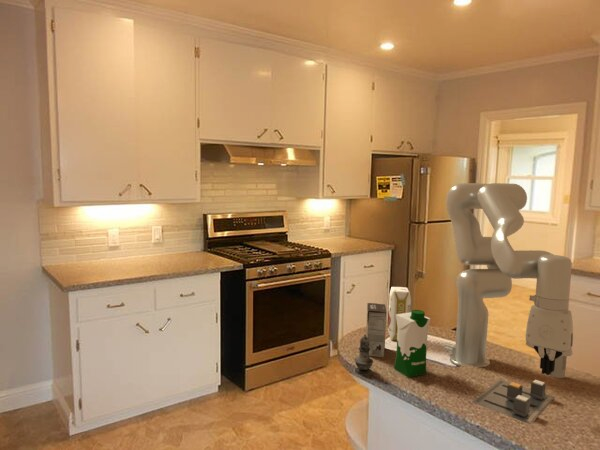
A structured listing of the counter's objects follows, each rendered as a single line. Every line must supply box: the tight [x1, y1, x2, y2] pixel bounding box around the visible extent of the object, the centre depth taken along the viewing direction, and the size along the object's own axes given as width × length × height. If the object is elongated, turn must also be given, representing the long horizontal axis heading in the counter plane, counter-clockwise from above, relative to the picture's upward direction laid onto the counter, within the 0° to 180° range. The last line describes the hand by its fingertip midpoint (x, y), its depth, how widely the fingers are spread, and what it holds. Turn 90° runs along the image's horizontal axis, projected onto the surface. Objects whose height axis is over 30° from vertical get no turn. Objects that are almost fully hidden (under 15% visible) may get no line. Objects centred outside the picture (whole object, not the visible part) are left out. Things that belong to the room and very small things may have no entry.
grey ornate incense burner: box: [354, 334, 374, 376], centre depth 142 cm, size 6×6×12 cm
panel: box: [471, 379, 556, 425], centre depth 124 cm, size 15×20×1 cm
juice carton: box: [387, 286, 412, 341], centre depth 172 cm, size 8×9×19 cm
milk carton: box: [394, 309, 432, 378], centre depth 142 cm, size 9×9×20 cm
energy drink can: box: [544, 349, 568, 379], centre depth 141 cm, size 6×6×15 cm
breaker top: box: [530, 379, 547, 400], centre depth 125 cm, size 3×4×4 cm
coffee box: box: [365, 302, 387, 358], centre depth 158 cm, size 9×6×16 cm
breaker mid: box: [506, 381, 524, 401], centre depth 124 cm, size 3×4×4 cm
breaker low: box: [512, 395, 530, 417], centre depth 116 cm, size 3×4×4 cm
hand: (546, 372), depth 117 cm, fingers closed
